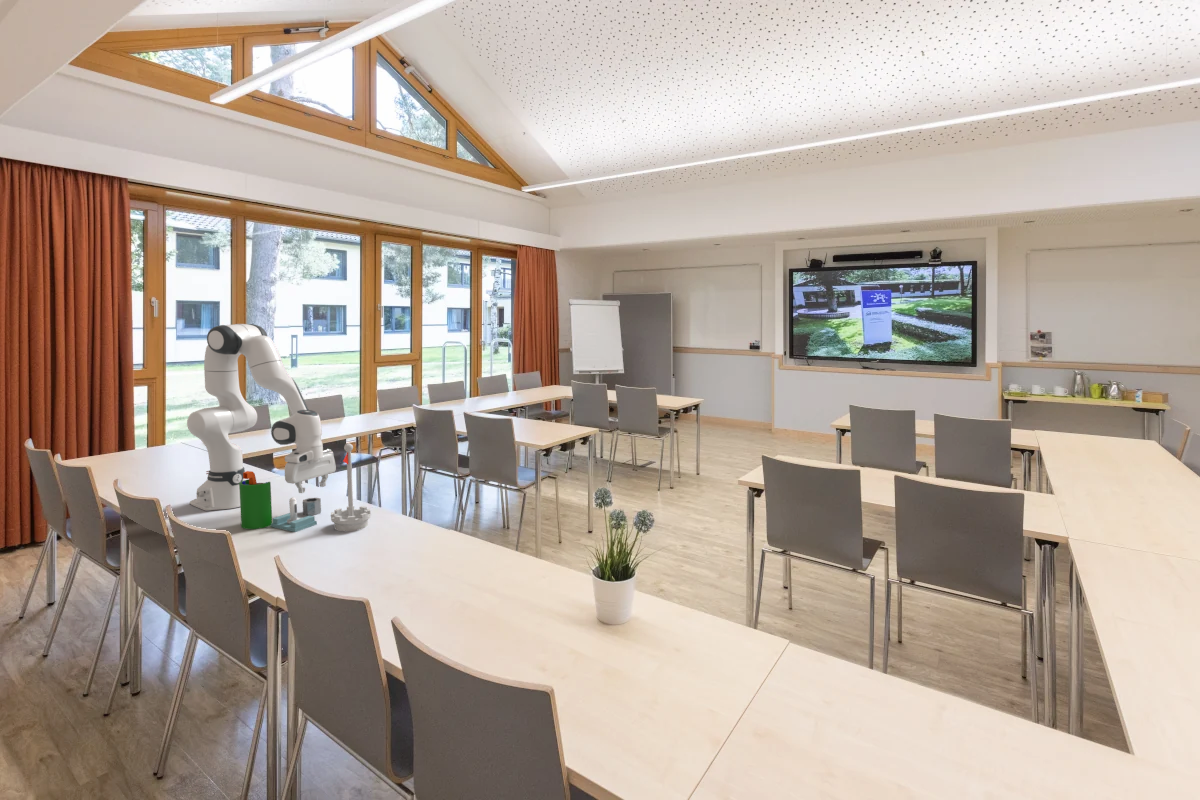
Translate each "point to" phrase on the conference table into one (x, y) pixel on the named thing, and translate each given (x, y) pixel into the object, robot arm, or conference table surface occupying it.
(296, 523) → the shaft block
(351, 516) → the flag stand
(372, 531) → the conference table surface
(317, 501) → the hub
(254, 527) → the green cup
